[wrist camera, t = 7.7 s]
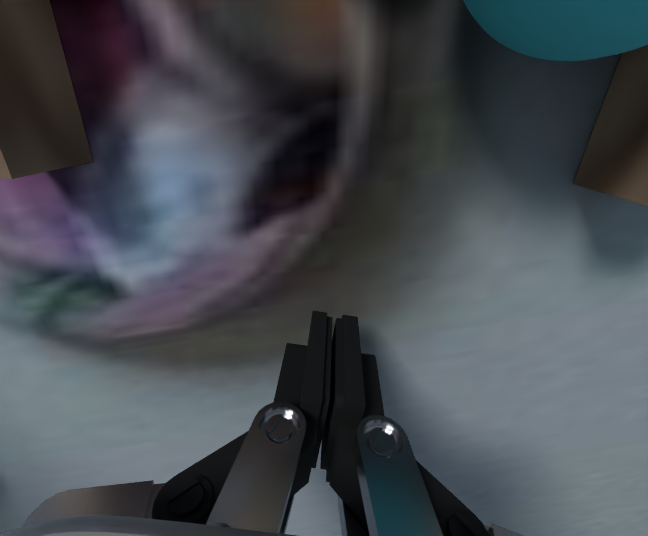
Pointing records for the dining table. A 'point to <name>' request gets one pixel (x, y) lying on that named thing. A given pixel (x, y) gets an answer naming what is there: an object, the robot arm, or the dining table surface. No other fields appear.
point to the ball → (564, 26)
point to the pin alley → (73, 149)
